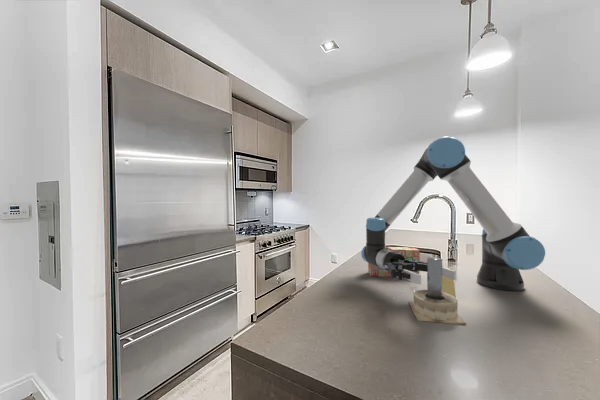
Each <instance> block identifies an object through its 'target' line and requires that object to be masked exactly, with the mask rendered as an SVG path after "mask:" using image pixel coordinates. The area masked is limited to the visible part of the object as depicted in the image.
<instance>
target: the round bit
mask: <svg viewBox="0 0 600 400" xmlns="http://www.w3.org/2000/svg"><path fill="white" fill-rule="evenodd" d="M426 262H427V272H426V277H427V279H426V280H427V282H426V284H427V285H426V290H427V298H430V299H434V300H442V267H443V259H442V258H441V257H440V258H439V257H434V256H433V257H431V256H428V257H427V259H426Z"/></svg>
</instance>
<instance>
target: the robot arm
mask: <svg viewBox="0 0 600 400" xmlns="http://www.w3.org/2000/svg"><path fill="white" fill-rule="evenodd" d="M471 163H472V161H471V159H470V158H469V157H468V156H467V154H466V148H465V145H464V143H463V142H462V141H461V140H459V139H458V138H456V137H453V136H442V137H440V138H437V139H435V140H433V141H432V142H431V143H430V144H429V145H428V146H427V148H426V149H425V150H424V151H423V154H422V155H421V157H420V159H419V160H418V161H417V163H416V164H415V165H414V166H413V172H411V174H410V175H409V176H408V177H407V178H406V180H405V181H404V182H403V183H402V184H401V185H400V187H398V189H397V190H396V191H395V193H394V194H393V195H392V196H391V197H390V199H389V200H388V201H387V202H386V203H385V204H384V205H383V207H382V208H381V209H380V210H379V212H378V213H377V214H376V215H375V216H374V217H368V218H367V219H366V224H365V229H366V230H365V232H366V234H365V237H366V239H365V240H366V243H365V246H363V247H362V250H361V253H360V254H361V255H360V256H361V258H362V260H364V261H365V262H366V263H367V264H368V263H369V264H372V265H375V266H377V267H380V268H382V269H385V271H388V272H389V274H390V275H391V276H392V278H393V279H395V278H397V280H398V281H403V279H405V280H406V281H409V282H411V283H414V284H417V285H418V286H419V285H421V284H422V274H420V273H419V274H417V273H414V272H417V271H419V272H426V273H427V261H424V260H423V261H422V260H420V261H418V260H413V261H410V260H407V259H405V258H404V256H403V255H402V254H400V253H396V252H393V251H390V250H388V249H386V231H387V230H388V229H389V228H390V226H391V225H392V224H393V222H395V220H396V219H398V217H399V216H400V215H401V214H402V212H403V211H405V209H406V208H407V207H408V206H409V204H410V203H412V201H413V200H414V199H416V198H415V197H417V195H418V194H419V193H420V192H421V191H422V189H423V188H425V186H426V185H427V184H428V183H429V182H432V181H434V180H435V179H436V178H437V177H438V178H439V179H440V181H447V182H448V184H449V185H450V187H451V188H452V189H453V191H454V192H455V193H456V194H457V196H458V197H459V198H460V200H461V201H462V202H463V204H464V205H465V206H466V208H467V209H468V211H470V212H471V214H472V215H473V217H474V218H475V220H476V221H477V223H478V224H479V225H480V227H482V231H481V233H482V234H481V243H482V244H481V245H482V246H481V255H482V256H481V265H480V268H479V270H478V273H477V275H476V282H477V283H478V284H480V285H482V286H484V287H488V288H492V289H496V290H503V291H511V292H512V291H513V292H514V291H515V292H516V291H523V290H524V289H525V282H524V281H525V280H523V276H522V274H521V272H520V270H521V271H527V270H528V271H529V270H533V269H535V268H537V267H539V266H540V265H541V264H542V263H543V262H544V260H545V257H546V249H545V248H546V247H544V244H543V243H542V242H541V241H539V240H538V239H537V238H536V237H532V236H531V235H530V234H529V233H528V232H527V231H526V229H525V228H524V227H523V225H522V224H521V223H518V222H517V223H516V222H513V221H512V220H511V218H510V217H509V215H507V213H506V212H505V211H504V209H503V208H502V207H501V205H499V203H498V201H497V200H496V199H495V198H494V196H493V195H492V194H491V192H490V191H488V189H487V188H486V186H485V185H484V184H483V183H482V181H481V180H480V178H479V177H478V176H477V175H476V174H475V173H474V171H473V170H472V168H471ZM413 267H415V269H413ZM451 269H452V268H447V267H445V266H444V267H443V266H442V276H444V277H447V278H450V279H453V281H456V280H457V270H453V269H452V270H451ZM411 271H414V272H411ZM396 276H398V277H396Z"/></svg>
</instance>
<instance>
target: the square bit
mask: <svg viewBox="0 0 600 400" xmlns="http://www.w3.org/2000/svg"><path fill="white" fill-rule="evenodd" d="M450 269H451V270H453V269H452V268H450ZM455 288H456V287H455V280H453V279H450V278H447V277H444V276H442V292H444V293H447V294H449V295H452V296H454V297H455V298H456V299H457V296H456V289H455Z"/></svg>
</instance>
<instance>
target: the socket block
mask: <svg viewBox="0 0 600 400" xmlns="http://www.w3.org/2000/svg"><path fill="white" fill-rule="evenodd" d="M408 304H409V306H410V309H411V310H412V312H413V314H414V316H415V318H416V319H417V321H419V322H420V321H421V322H432V323H441V324H442V323H443V324H453V325H463V326H467V322H466V321H465V320H464V319H463V318H462V316H460V315H459V313H458V299H457V297H456V298H455V297H454V296H452V295H449V294H447V293H444V292H442V300H434V299H430V298H427V289H419V290H416V291H415V292H413V301H408Z"/></svg>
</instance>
